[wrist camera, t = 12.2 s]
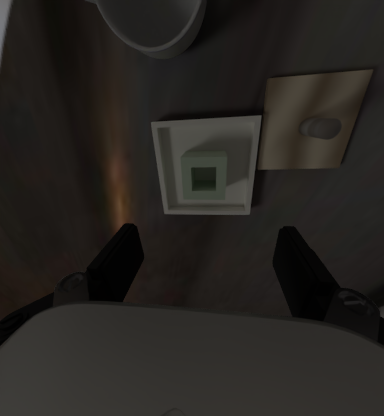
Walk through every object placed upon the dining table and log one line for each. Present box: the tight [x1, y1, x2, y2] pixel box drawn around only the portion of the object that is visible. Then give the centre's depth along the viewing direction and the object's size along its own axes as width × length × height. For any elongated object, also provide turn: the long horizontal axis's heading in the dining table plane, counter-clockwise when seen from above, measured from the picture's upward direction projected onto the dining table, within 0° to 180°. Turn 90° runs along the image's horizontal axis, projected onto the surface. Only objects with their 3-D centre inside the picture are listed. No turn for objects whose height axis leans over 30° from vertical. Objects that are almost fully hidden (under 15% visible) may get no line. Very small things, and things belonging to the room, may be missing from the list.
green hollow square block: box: [180, 150, 227, 200], centre depth 27 cm, size 6×6×5 cm
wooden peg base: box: [256, 69, 373, 170], centre depth 22 cm, size 12×12×6 cm
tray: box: [151, 115, 262, 215], centre depth 29 cm, size 16×16×2 cm
